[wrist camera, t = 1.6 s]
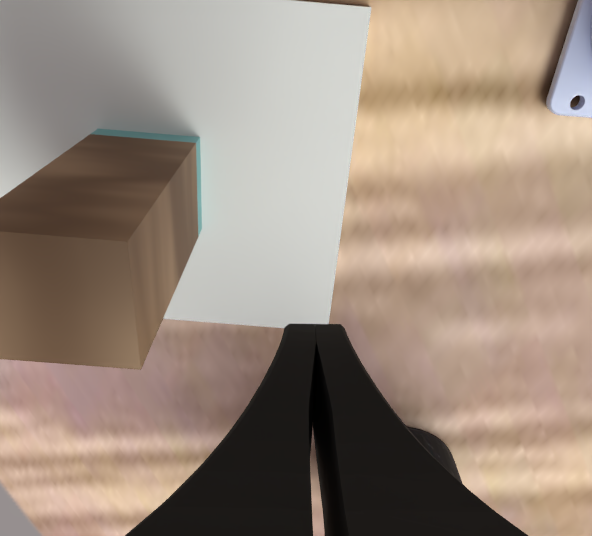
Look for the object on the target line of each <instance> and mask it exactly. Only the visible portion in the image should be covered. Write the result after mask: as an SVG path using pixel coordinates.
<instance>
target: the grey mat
mask: <svg viewBox="0 0 592 536" xmlns="http://www.w3.org/2000/svg"><path fill="white" fill-rule="evenodd" d="M370 14H371V7H366V6H355V5H344V4H332V3H321V2H309V1H298V0H0V198H1V197H2V196H4V195H5V194H7V193H8V192H10V191H11V190H12V189H14V188H15V187H17V186H18V185H19V184H21V183H22V182H24V181H25V180H26V179H28V178H29V177H31V176H32V175H33V174H35V173H36V172H38V171H39V170H40V169H42V168H43V167H45V166H46V165H47V164H49V163H50V162H52V161H53V160H54V159H56V158H57V157H59V156H60V155H61V154H63V153H64V152H66V151H67V150H69V149H70V148H71V147H73V146H74V145H76V144H77V143H78V142H80V141H81V140H83V139H84V138H85V137H87V136H88V135H90V134H91V133H92V132H94V131H95V130H97V129H110V130H122V131H134V132H146V133H158V134H170V135H182V136H194V137H200V156H201V206H202V230H201V232H200V234H199V237H198V239H197V241H196V244H195V246H194V248H193V251H192V253H191V255H190V257H189V260H188V262H187V264H186V267H185V269H184V271H183V274H182V276H181V278H180V281H179V283H178V285H177V287H176V290H175V292H174V294H173V297H172V299H171V301H170V304H169V306H168V308H167V310H166V313H165V315H164V317H163V319H172V320H185V321H198V322H211V323H224V324H237V325H250V326H262V327H275V328H285V327H286V326H287V325H288V324H329V317H330V310H331V302H332V295H333V288H334V280H335V273H336V265H337V258H338V251H339V243H340V236H341V228H342V221H343V214H344V206H345V199H346V191H347V184H348V177H349V169H350V162H351V154H352V147H353V140H354V132H355V125H356V117H357V110H358V103H359V95H360V88H361V80H362V73H363V66H364V58H365V51H366V43H367V36H368V29H369V21H370Z"/></svg>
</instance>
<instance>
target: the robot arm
mask: <svg viewBox="0 0 592 536" xmlns="http://www.w3.org/2000/svg"><path fill="white" fill-rule="evenodd" d="M578 95H579V96H580V101H579V103H578V105H576V106H575V107H572V108H571V107H570V102H571V100H572V98H574V97H575V96H578ZM546 105H547V108H548V109H549V110H550V111H551V112H552V113H554V114H557V115H564V116H576V117H588V118H592V0H578V2H577V5H576V8H575V11H574V14H573V18H572V21H571V24H570V27H569V30H568V33H567V36H566V40H565V43H564V46H563V49H562V52H561V55H560V58H559V62H558V65H557V68H556V71H555V74H554V77H553V81H552V84H551V87H550V90H549V93H548V96H547V101H546ZM312 427H313V431H314V440H315V448H316V457H317V465H318V474H319V482H320V490H321V499H322V507H323V517H324V530H325V536H528V535H526V534H525V533H524V532H522V531H521V530H520V529H518V528H517V527H515V526H514V525H513V524H511V523H510V522H509V521H507V520H506V519H505V518H503V517H502V516H500V515H499V514H498V513H496V512H495V511H494V510H492V509H491V508H490V507H489V506H487V505H486V504H485V503H484V502H483V501H481V500H480V499H479V498H478V497H477V496H475V495H474V494H473V493H472V492H471V491H469V490H468V489H467V488H466V487H465V486H464V485H463V484H462V483H461V482H460V481H459V480H458V479H457V478H455V477H454V476H453V475H452V474H451V473H450V472H449V471H448V470H447V469H446V468H445V467H444V466H443V465H442V464H440V463H439V462H438V461H437V460H436V459H435V458H434V457H433V456H432V454H431V453H430V452H429V451H428V450H427V449H426V448H425V447H424V446H423V445H422V444H421V443H420V442H419V441H418V439H417V438H416V437H415V436H414V435H413V434H412V433H411V431H410V430H409V429H408V428H407V427H406V426H405V424H404V423H403V422H402V421H401V420H400V418H399V417H398V416H397V414H396V413H395V412H394V411H393V409H392V408H391V407H390V405H389V404H388V402H387V401H386V400H385V398H384V397H383V396H382V394H381V393H380V391H379V390H378V388H377V387H376V385H375V384H374V382H373V381H372V379H371V378H370V376H369V374H368V373H367V371H366V370H365V368H364V366H363V365H362V363H361V361H360V359H359V358H358V356H357V354H356V352H355V350H354V348H353V346H352V344H351V342H350V340H349V338H348V336H347V334H346V331H345V328H344V327H343V326H342V325H341V324H288V325H287V326H286V327H285V328H284V333H283V337H282V340H281V343H280V346H279V348H278V350H277V353H276V355H275V357H274V360H273V362H272V364H271V366H270V368H269V369H268V371H267V373H266V375H265V377H264V379H263V381H262V383H261V385H260V386H259V388H258V390H257V391H256V393H255V394H254V396H253V398H252V399H251V401H250V403H249V404H248V406H247V407H246V409H245V410H244V412H243V413H242V415H241V416H240V418H239V419H238V420H237V422H236V423H235V425H234V426H233V427H232V429H231V430H230V431H229V433H228V434H227V435H226V436H225V438H224V439H223V440H222V441H221V443H220V444H219V445H218V446H217V447H216V449H215V450H214V451H213V452H212V453H211V455H210V456H209V457H208V458H207V459H206V460H205V461H204V463H203V464H202V465H201V466H200V467H199V468H198V469H197V470H196V471H195V472H194V473H193V474H192V475H191V476H190V477H189V478H188V479H187V480H186V481H185V482H184V483H183V484H182V485H181V486H180V487H179V488H178V489H177V490H176V491H175V492H174V493H173V494H172V495H171V496H170V497H169V498H168V499H167V500H166V501H165V502H164V503H163V504H162V505H160V506H159V507H158V508H157V509H156V510H155V511H153V512H152V513H151V514H150V515H149V516H148V517H146V518H145V519H144V520H143V521H142V522H140V523H139V524H138V525H137V526H136V527H135V528H133V529H132V530H131V531H130V532H129V533H128V534H126V535H125V536H313V526H312V504H311V480H310V451H311V439H312Z"/></svg>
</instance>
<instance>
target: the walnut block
mask: <svg viewBox="0 0 592 536" xmlns="http://www.w3.org/2000/svg"><path fill="white" fill-rule="evenodd" d="M201 230H202V206H201V156H200V137H194V136H182V135H170V134H158V133H146V132H134V131H122V130H110V129H97V130H95V131H94V132H92V133H91V134H90V135H88V136H87V137H85V138H84V139H83V140H81V141H80V142H78V143H77V144H76V145H74V146H73V147H71V148H70V149H69V150H67V151H66V152H64V153H63V154H61V155H60V156H59V157H57V158H56V159H54V160H53V161H52V162H50V163H49V164H47V165H46V166H45V167H43V168H42V169H40V170H39V171H38V172H36V173H35V174H33V175H32V176H31V177H29V178H28V179H26V180H25V181H24V182H22V183H21V184H19V185H18V186H17V187H15V188H14V189H12V190H11V191H10V192H8V193H7V194H5V195H4V196H2V197H1V198H0V359H8V360H21V361H34V362H48V363H61V364H74V365H87V366H100V367H114V368H127V369H140V370H141V368H142V366H143V364H144V361H145V359H146V357H147V354H148V352H149V350H150V347H151V345H152V343H153V340H154V338H155V336H156V334H157V331H158V329H159V327H160V324H161V322H162V320H163V317H164V315H165V313H166V310H167V308H168V306H169V304H170V301H171V299H172V297H173V294H174V292H175V290H176V287H177V285H178V283H179V281H180V278H181V276H182V274H183V271H184V269H185V267H186V264H187V262H188V260H189V257H190V255H191V253H192V251H193V248H194V246H195V244H196V241H197V239H198V237H199V234H200V232H201Z"/></svg>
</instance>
